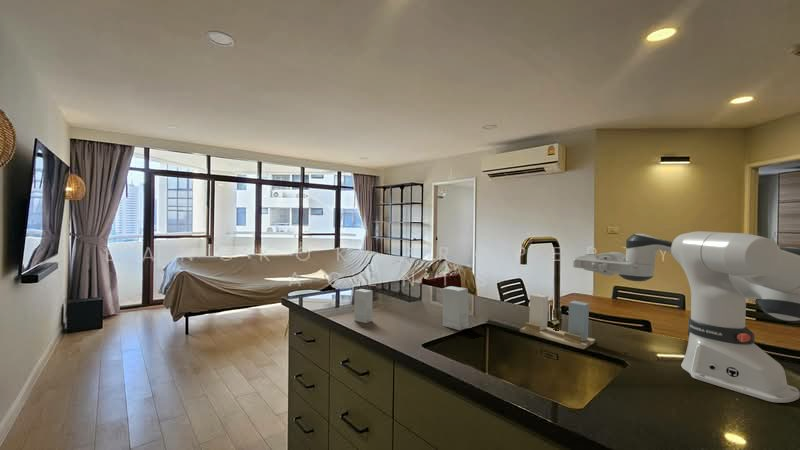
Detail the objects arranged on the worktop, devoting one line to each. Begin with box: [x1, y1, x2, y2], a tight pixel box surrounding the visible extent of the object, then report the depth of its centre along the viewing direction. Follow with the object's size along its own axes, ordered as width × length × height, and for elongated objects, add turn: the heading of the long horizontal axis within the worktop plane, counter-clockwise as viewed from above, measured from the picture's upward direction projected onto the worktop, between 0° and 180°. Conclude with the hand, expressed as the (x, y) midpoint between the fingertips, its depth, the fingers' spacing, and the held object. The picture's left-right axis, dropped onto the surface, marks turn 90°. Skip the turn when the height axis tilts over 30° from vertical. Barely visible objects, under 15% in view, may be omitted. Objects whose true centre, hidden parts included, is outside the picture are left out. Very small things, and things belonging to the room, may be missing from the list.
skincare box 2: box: [441, 285, 469, 331], centre depth 131 cm, size 8×6×15 cm
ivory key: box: [528, 293, 549, 330], centre depth 129 cm, size 4×5×12 cm
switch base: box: [519, 322, 596, 350], centre depth 123 cm, size 10×22×3 cm, turn 43°
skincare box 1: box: [353, 288, 374, 324], centre depth 136 cm, size 6×4×12 cm
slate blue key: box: [567, 300, 590, 341], centre depth 118 cm, size 4×5×12 cm
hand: (595, 266), depth 128 cm, fingers closed
